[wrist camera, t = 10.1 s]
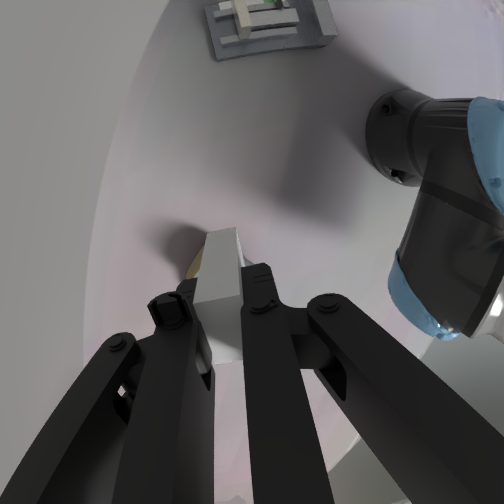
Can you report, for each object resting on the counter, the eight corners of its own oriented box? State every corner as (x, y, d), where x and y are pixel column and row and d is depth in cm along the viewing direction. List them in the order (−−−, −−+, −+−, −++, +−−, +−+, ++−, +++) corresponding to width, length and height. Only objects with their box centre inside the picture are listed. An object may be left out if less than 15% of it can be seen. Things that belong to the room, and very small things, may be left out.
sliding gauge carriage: (287, -7, 28) (296, -27, 22) (300, 35, 31) (312, 19, 25) (228, 0, 28) (228, -20, 22) (239, 43, 31) (241, 27, 25)
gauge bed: (308, -4, 29) (319, -21, 23) (323, 46, 33) (338, 34, 27) (204, 9, 29) (200, -9, 24) (217, 61, 33) (215, 50, 27)
